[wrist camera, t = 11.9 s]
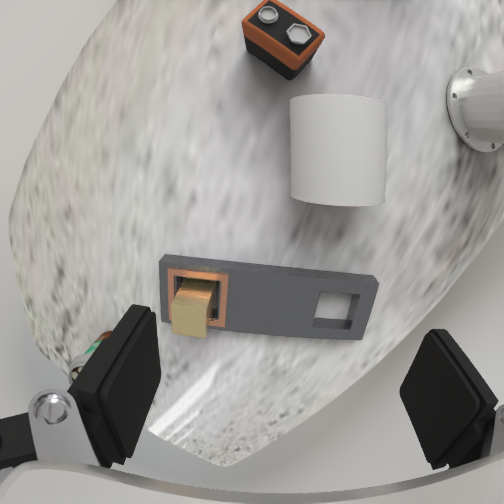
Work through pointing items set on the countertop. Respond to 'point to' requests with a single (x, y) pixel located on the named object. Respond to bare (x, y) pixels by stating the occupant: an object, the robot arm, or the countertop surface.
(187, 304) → the tan wooden block
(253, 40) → the battery
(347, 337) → the rail
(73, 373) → the food container
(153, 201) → the countertop surface
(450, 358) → the robot arm
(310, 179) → the toilet paper
